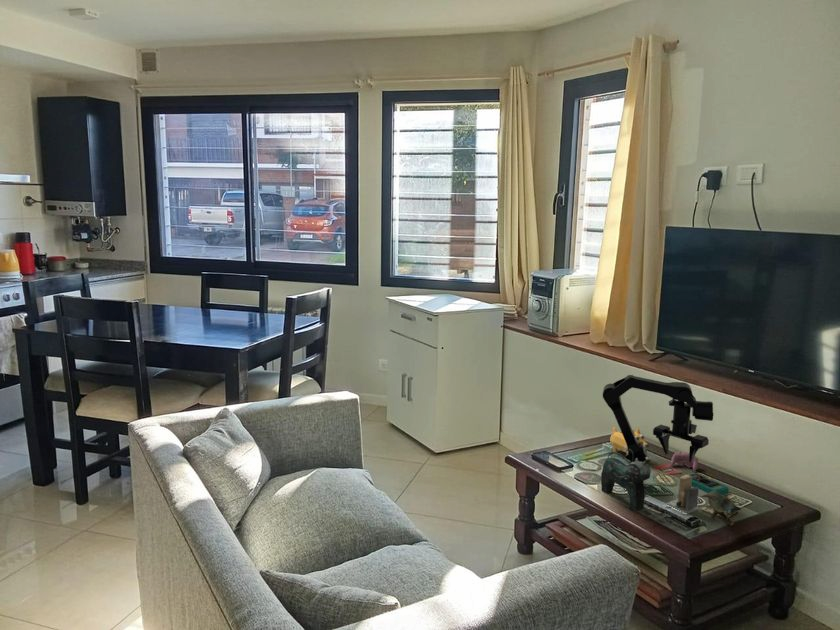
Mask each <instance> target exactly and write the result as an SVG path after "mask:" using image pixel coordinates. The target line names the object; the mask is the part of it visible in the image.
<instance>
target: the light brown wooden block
mask: <svg viewBox="0 0 840 630" xmlns="http://www.w3.org/2000/svg"><path fill="white" fill-rule="evenodd" d="M689 475H690V474H685V475H682V476H680V477H679V483H678V484H679V485H678V497H677V499H678V502H676V506H680V505H681V506H685V505H686V495H687V490H689V489H691V488H692V487H693V486H692V476H689Z"/></svg>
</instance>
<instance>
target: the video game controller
mask: <svg viewBox="0 0 840 630" xmlns="http://www.w3.org/2000/svg"><path fill="white" fill-rule="evenodd" d="M684 460H685V461H686V462H685V467H686V468H687V469H691V468H692V471H693V472H694V471H695V472H696V471H697V469H698V464H699V459H698V457H697V456H694V458H693V460H692V462H690V461H689V452H687V451H686V452H684V451H677V452H676V451H675V452H674V454H672V457H671V460H670V467H671V468H673V467H675V465H676V463H677V466H679V467H682V466H684Z"/></svg>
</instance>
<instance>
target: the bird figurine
mask: <svg viewBox="0 0 840 630" xmlns="http://www.w3.org/2000/svg"><path fill="white" fill-rule="evenodd" d="M700 497H701V498H703V497H704V498H708V499H707V501H708V503H709V504H710V505H711V507H712V508H713V509H714V511H713V512H712V513H711V515H710V517H709V518H710V520H711V521H714V520H715V518H716V517H717V516H719V517H721V519H723V520H724V521H725V524H728V525H729V526H733V525H734V524H735V522H734V521H732V519H731V518H730V517H729V514H733V513H734V512H736V513H738V512H740V511H742V509H741V508H740V507H739V506H737V505H735V503H734V502H733V501H731V499H730V498H729V497H727V496H724V495H721V494H720V493H718V492H716V491H712V492H710V493H706V494H703V495H700ZM725 512H726V513H727V514H725Z"/></svg>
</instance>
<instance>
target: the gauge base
mask: <svg viewBox="0 0 840 630" xmlns="http://www.w3.org/2000/svg"><path fill="white" fill-rule="evenodd" d="M699 490H700V489H699V488H698V487H694V486H693V487H691V489H689V490H687V495H686V505H685V506H681V505H680V506H676V502H678V498H677V499H674V500H670V501H668V502H666V505H669V506H671V507H673V508H675V509H677V510H679V511H681V512H684V513H688V514H690V513H693V512H696V511H698V509H699V506H698V501H699Z"/></svg>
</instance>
